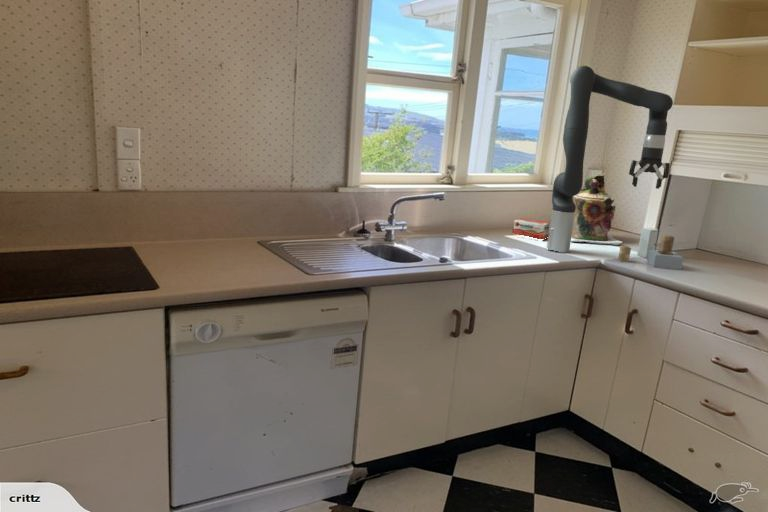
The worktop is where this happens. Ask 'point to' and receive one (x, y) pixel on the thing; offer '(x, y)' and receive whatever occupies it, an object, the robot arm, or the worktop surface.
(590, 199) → the cookie jar
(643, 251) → the skincare box
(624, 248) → the short pin
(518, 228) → the medicine box
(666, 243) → the long pin
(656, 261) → the socket block
